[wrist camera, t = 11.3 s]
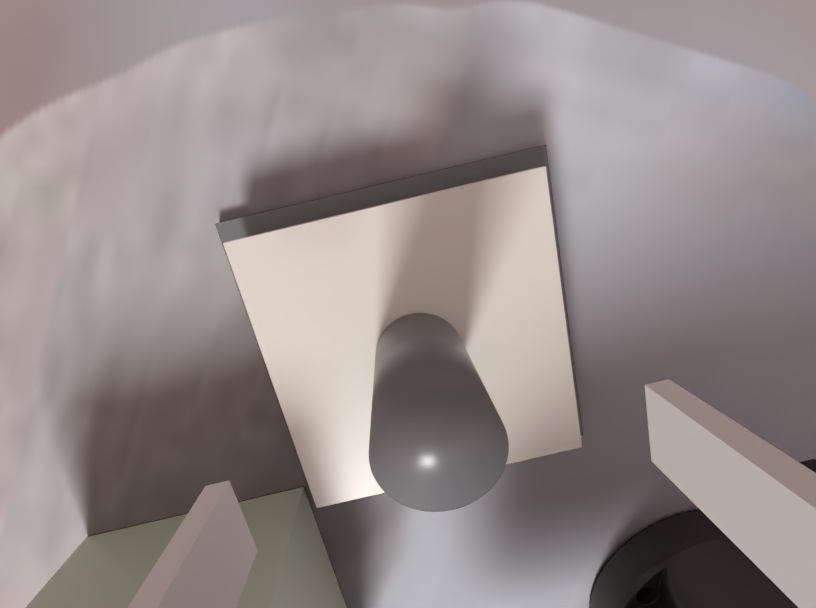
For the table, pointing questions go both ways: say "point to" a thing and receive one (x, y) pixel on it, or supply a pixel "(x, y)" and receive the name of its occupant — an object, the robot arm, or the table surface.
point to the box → (144, 544)
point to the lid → (416, 341)
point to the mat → (390, 194)
